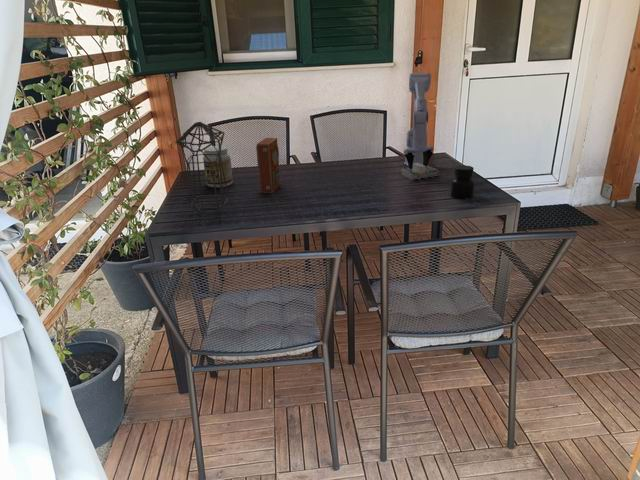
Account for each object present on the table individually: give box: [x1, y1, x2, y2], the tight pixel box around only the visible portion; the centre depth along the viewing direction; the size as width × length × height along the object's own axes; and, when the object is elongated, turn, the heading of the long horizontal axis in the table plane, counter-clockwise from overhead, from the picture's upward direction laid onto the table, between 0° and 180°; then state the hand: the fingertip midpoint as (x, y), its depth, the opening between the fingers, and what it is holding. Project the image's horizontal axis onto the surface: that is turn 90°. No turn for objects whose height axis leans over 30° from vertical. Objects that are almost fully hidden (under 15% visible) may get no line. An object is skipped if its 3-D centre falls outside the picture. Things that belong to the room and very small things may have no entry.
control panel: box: [255, 137, 281, 194], centre depth 199 cm, size 21×7×15 cm
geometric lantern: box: [174, 121, 229, 218], centre depth 170 cm, size 16×16×35 cm
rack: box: [400, 164, 439, 181], centre depth 214 cm, size 10×14×3 cm
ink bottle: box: [450, 164, 476, 200], centre depth 183 cm, size 10×9×12 cm
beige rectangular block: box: [412, 163, 426, 173], centre depth 212 cm, size 7×3×5 cm, turn 20°
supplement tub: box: [202, 145, 234, 189], centre depth 209 cm, size 12×12×17 cm
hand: (417, 167), depth 212 cm, fingers open, 7 cm apart
